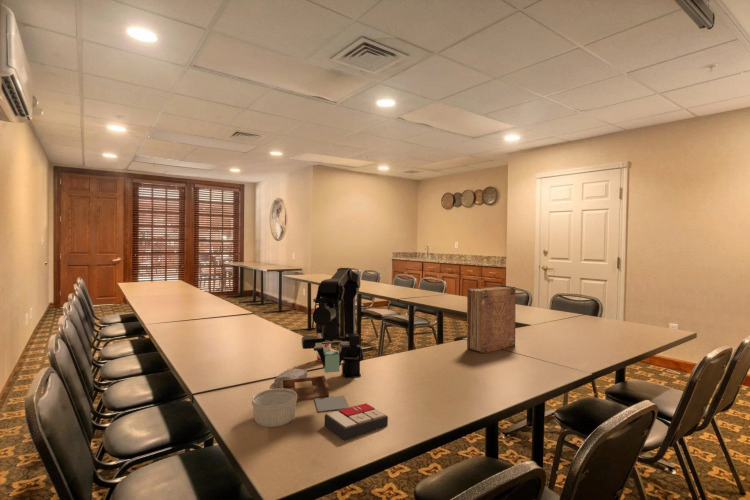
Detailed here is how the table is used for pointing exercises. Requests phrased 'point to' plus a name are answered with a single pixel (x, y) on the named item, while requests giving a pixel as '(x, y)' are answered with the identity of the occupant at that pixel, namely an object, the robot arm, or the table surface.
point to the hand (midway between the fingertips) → (331, 366)
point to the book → (490, 318)
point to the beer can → (325, 347)
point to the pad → (331, 403)
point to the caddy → (307, 387)
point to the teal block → (331, 361)
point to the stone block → (290, 375)
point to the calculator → (355, 421)
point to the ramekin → (274, 407)
